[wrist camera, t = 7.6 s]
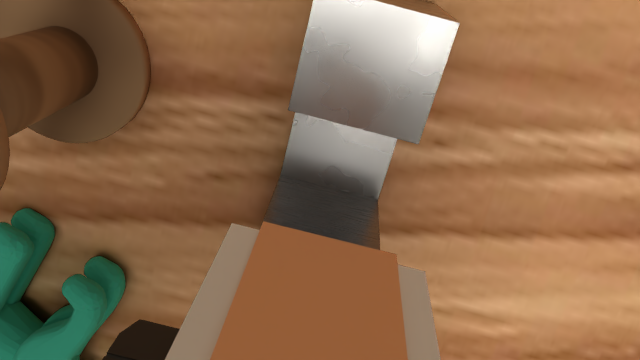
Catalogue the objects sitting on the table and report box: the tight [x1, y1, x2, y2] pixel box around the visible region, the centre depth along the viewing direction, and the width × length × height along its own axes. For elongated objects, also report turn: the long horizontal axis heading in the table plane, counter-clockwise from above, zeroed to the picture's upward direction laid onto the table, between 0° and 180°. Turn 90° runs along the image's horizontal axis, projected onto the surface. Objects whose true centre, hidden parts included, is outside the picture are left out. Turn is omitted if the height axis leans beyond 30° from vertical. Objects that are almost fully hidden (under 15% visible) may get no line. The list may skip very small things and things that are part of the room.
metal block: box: [261, 0, 460, 250], centre depth 25 cm, size 5×14×7 cm, turn 166°
